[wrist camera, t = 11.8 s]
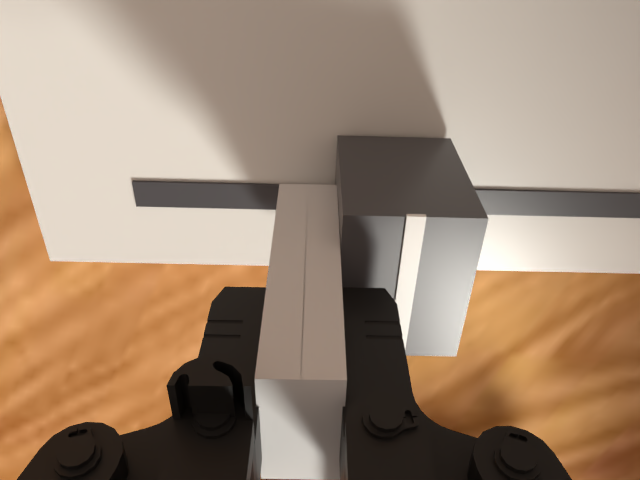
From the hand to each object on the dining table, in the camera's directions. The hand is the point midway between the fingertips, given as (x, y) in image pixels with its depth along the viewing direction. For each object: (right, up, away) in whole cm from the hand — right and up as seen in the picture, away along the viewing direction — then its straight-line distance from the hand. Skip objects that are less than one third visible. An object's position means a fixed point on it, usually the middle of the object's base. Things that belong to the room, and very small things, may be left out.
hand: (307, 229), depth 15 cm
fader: (+2, +1, +1) cm, 3 cm away
